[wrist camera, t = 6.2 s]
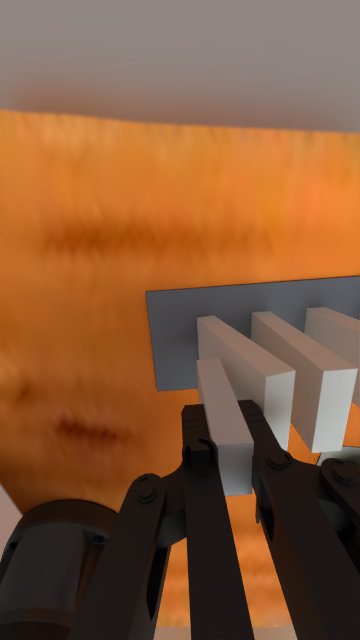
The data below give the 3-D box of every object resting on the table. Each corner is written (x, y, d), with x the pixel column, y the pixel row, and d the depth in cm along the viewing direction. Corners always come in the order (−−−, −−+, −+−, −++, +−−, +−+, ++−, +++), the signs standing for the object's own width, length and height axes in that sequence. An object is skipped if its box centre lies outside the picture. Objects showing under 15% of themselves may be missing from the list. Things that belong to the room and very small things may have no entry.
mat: (157, 389, 22) (157, 391, 22) (146, 291, 19) (145, 292, 19) (469, 364, 23) (474, 366, 22) (507, 264, 20) (513, 265, 19)
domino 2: (250, 362, 21) (311, 453, 12) (251, 312, 20) (323, 371, 10) (266, 360, 21) (341, 450, 12) (269, 311, 20) (357, 368, 10)
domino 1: (199, 367, 21) (261, 459, 12) (196, 317, 20) (266, 377, 10) (214, 364, 21) (287, 450, 12) (213, 315, 20) (295, 370, 11)
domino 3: (301, 358, 21) (403, 445, 12) (307, 308, 20) (429, 363, 10) (317, 356, 21) (433, 443, 12) (324, 306, 20) (463, 360, 10)
